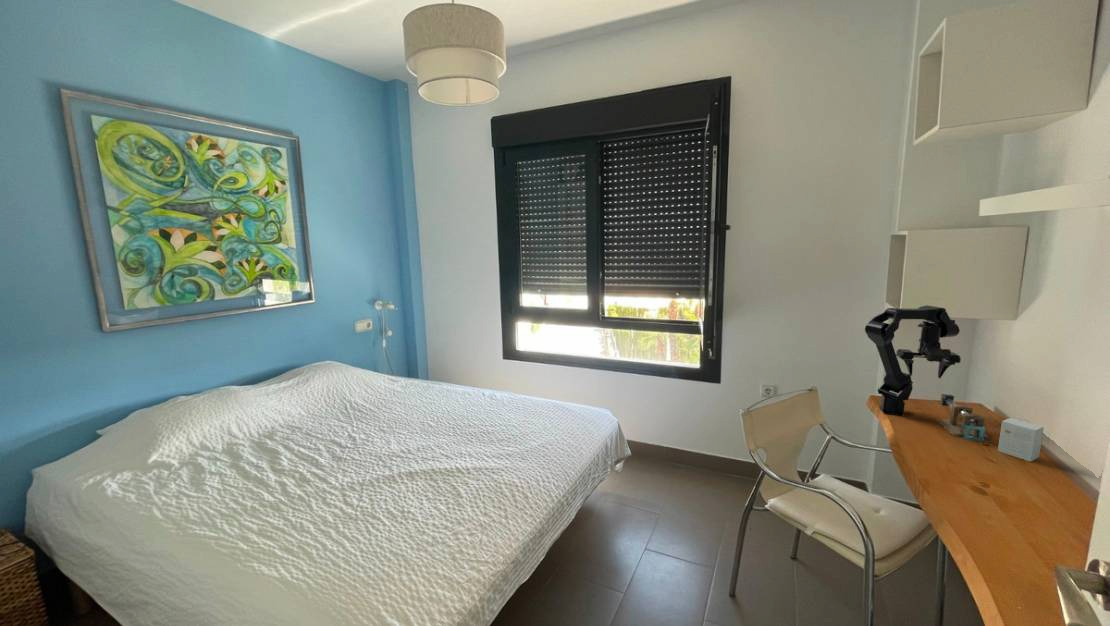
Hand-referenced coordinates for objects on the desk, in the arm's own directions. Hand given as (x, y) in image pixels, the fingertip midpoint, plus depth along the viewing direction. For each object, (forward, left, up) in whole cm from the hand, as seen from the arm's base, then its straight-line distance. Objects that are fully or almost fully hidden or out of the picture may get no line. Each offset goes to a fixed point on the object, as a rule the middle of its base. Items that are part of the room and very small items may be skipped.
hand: (924, 376), depth 176 cm
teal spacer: (+6, -27, -13) cm, 30 cm away
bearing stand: (+6, -19, -13) cm, 24 cm away
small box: (+14, -35, -13) cm, 40 cm away
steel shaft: (+6, -15, -9) cm, 18 cm away
